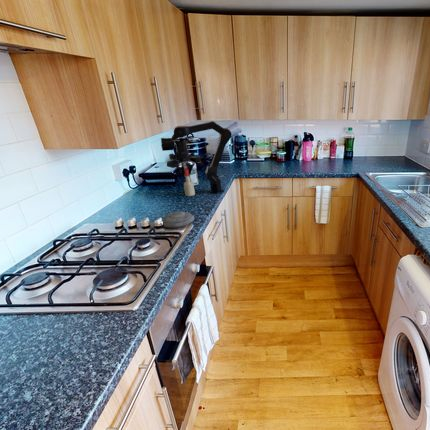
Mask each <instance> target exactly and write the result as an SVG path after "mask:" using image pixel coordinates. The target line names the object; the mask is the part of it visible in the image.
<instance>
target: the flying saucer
mask: <svg viewBox="0 0 430 430" xmlns="http://www.w3.org/2000/svg"><path fill="white" fill-rule="evenodd" d="M161 221H163V225H164V226H163V225H162V226H163V227H165V228H169V229H170V228H171V229H174V228H181V227H185V226H188V225H190V224H192V223H193V222H194V221H195V216H194V214H191V213H190V212H188V211H183V210H182V211H181V210H178V211H172V212H170V213H168V214H166V215H165V216H164V217H163V218H162V220H161Z"/></svg>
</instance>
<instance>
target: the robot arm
mask: <svg viewBox="0 0 430 430" xmlns="http://www.w3.org/2000/svg"><path fill="white" fill-rule="evenodd" d="M209 130H214V131H215V132H216V133H218V134H219V138H218V144H217V147H216V150H215V153H214V155H213V158H212V161H211V164H209V165H210V166H209V165H207V166H206V169H205V171H204V172H205V177H206V179H207V180H208V181H209V186H210V190H208V191H209V193H213V194H219V193H222V192H225V191H224V189H222V182H221V177H220V176H219V175H218V168H219V166H220V165H219V164H220V162H221V160H222V156H223V153H224V151H225V148H226V146H227V144H228V143H229V142H230V140H231V138H232V131H231V130H230V129H229V128H227V127H223V126H221V125H220V124H218V123H217V122H215V121H214V120H211V121H208V122H203V123H198V124H194V125H177V126H175V127H174V128H173V134H172V135H171V137H161V138H160V146H161V151H162V152H164V151H165V152H166V151H167V152H168V151H174V150H175V149H176V151H175V154H174V153H169V154H168V157H169V161H168V160H167V162H166V167H168V168H171V169H175V168H176V169H177V170H178V171H179V173H180V175H181V177H182V178H185V176H184V166H183V164H186V166H187V169H188V170H189V176H190V174H191V171H192V168H193V166H194V165H195V163H201V162H202V161H201V157H199V156H197V155H196V156H195V155H193V156H189V154H190V150H188V144H187V142H190V141H191V140H190V138H188V136H189V135H191V134H193V133H200V132H205V131H209Z"/></svg>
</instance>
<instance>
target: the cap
mask: <svg viewBox="0 0 430 430" xmlns="http://www.w3.org/2000/svg"><path fill="white" fill-rule="evenodd" d="M188 175H189V170H188V169H187V168H185V169H184V177H185V176H188Z"/></svg>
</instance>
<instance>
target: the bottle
mask: <svg viewBox="0 0 430 430" xmlns="http://www.w3.org/2000/svg"><path fill="white" fill-rule="evenodd" d="M184 178H185V181H184V182H183V189H184V195H185V196H186V197H192V196H195V195H196V191H195V185H194V183H193V182H192V181H190V176H184Z"/></svg>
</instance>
